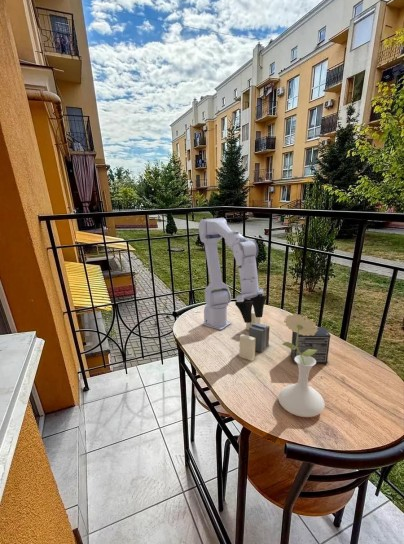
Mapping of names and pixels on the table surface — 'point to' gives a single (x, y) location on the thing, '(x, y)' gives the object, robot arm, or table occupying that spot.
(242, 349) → the cream book
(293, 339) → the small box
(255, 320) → the cream books
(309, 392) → the flower in vase
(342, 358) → the table surface
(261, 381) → the table surface
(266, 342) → the grey books
